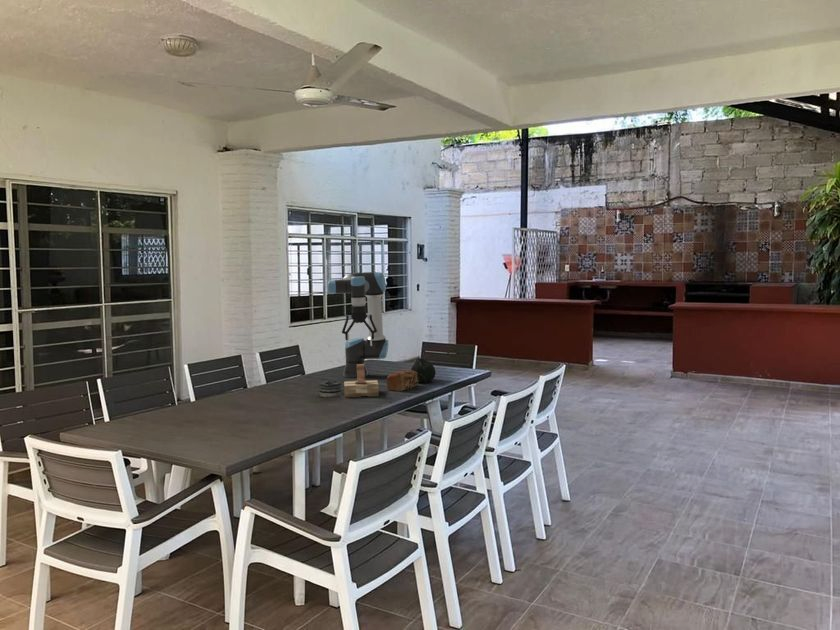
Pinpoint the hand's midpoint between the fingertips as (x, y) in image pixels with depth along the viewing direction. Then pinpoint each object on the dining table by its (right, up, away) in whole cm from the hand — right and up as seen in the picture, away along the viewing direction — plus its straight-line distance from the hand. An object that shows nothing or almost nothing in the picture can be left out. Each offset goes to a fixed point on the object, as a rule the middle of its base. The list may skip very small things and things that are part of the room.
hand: (359, 346), depth 352 cm
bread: (+23, -25, +17) cm, 37 cm away
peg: (+1, -24, +2) cm, 24 cm away
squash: (+34, -23, +33) cm, 53 cm away
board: (+1, -26, +2) cm, 26 cm away
